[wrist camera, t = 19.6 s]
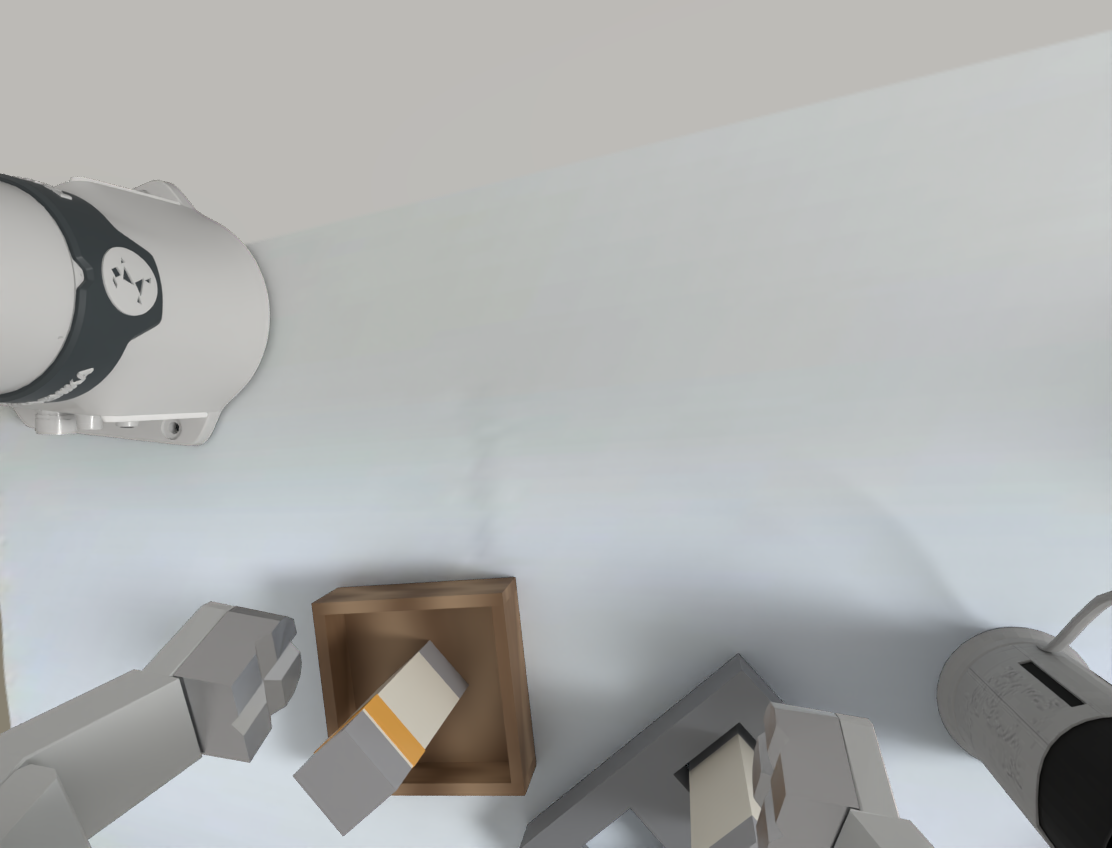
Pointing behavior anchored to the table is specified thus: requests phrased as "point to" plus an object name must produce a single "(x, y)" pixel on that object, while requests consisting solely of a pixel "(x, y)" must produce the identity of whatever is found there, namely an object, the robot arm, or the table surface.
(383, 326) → the table surface
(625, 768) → the fuse block
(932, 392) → the table surface
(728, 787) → the block
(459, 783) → the tray
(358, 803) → the block
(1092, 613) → the grey mug
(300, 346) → the table surface
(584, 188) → the table surface
